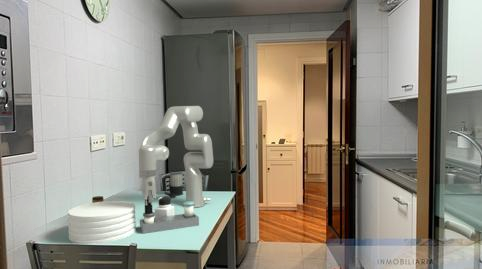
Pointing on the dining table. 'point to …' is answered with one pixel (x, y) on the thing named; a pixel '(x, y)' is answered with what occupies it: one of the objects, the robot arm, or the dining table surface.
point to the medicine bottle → (164, 207)
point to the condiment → (97, 199)
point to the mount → (168, 223)
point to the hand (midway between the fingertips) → (148, 213)
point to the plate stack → (101, 222)
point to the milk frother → (174, 184)
